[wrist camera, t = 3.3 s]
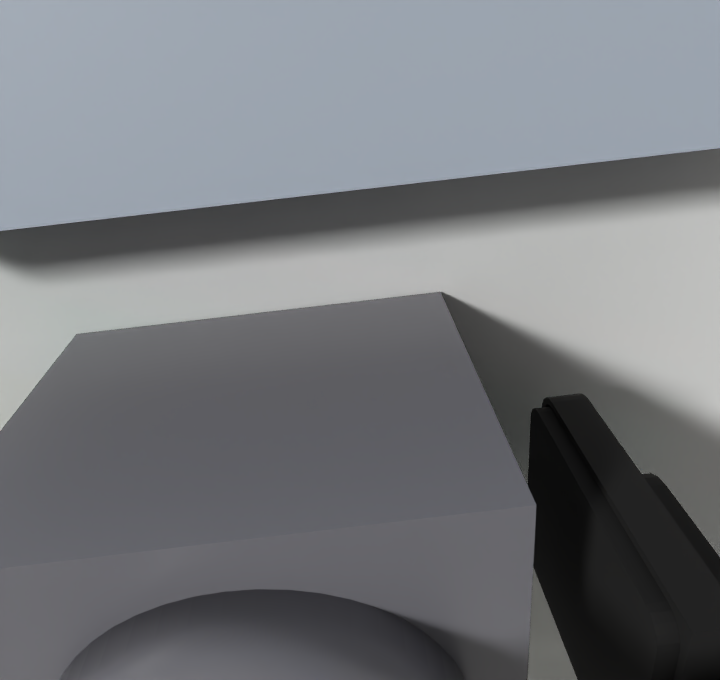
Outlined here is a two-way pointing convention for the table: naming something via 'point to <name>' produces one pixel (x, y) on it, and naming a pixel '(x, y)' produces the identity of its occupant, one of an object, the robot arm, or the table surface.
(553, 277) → the table surface
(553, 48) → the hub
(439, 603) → the knob
